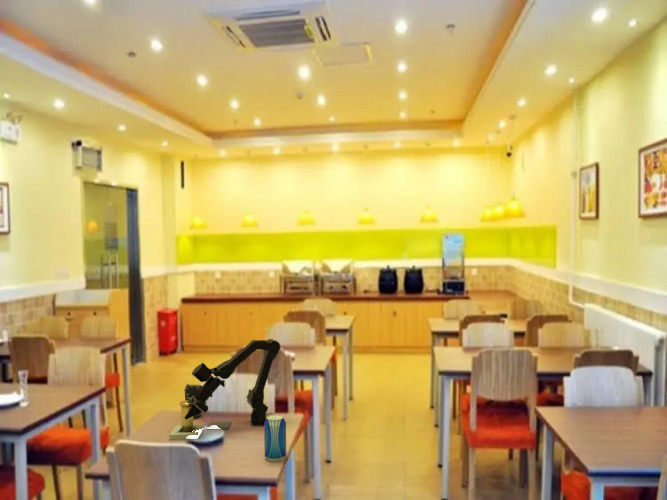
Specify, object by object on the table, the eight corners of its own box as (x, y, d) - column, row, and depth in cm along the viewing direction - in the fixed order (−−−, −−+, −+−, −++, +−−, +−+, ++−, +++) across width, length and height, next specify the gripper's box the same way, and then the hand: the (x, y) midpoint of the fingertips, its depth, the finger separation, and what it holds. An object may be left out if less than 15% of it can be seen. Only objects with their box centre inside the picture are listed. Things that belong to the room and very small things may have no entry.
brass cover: (195, 429, 242) (195, 400, 242) (192, 433, 236) (192, 403, 236) (182, 429, 242) (181, 400, 242) (178, 434, 236) (178, 404, 236)
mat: (232, 422, 255) (232, 421, 255) (228, 429, 245) (228, 428, 245) (210, 422, 255) (210, 421, 255) (206, 429, 245) (206, 428, 245)
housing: (203, 430, 245) (203, 425, 245) (197, 439, 233) (197, 434, 233) (177, 430, 245) (176, 425, 245) (169, 439, 233) (169, 434, 233)
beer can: (265, 454, 216) (264, 414, 215) (286, 453, 216) (285, 413, 216) (264, 462, 207) (263, 420, 207) (286, 461, 208) (285, 420, 208)
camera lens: (204, 414, 267) (204, 384, 267) (198, 419, 259) (198, 388, 259) (188, 414, 268) (188, 383, 268) (182, 419, 260) (182, 388, 260)
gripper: (190, 373, 249) (166, 400, 244) (200, 382, 232) (174, 411, 227) (208, 388, 252) (184, 415, 248) (218, 397, 236) (193, 427, 231)
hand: (183, 417), depth 238 cm, fingers closed on brass cover, 5 cm apart
